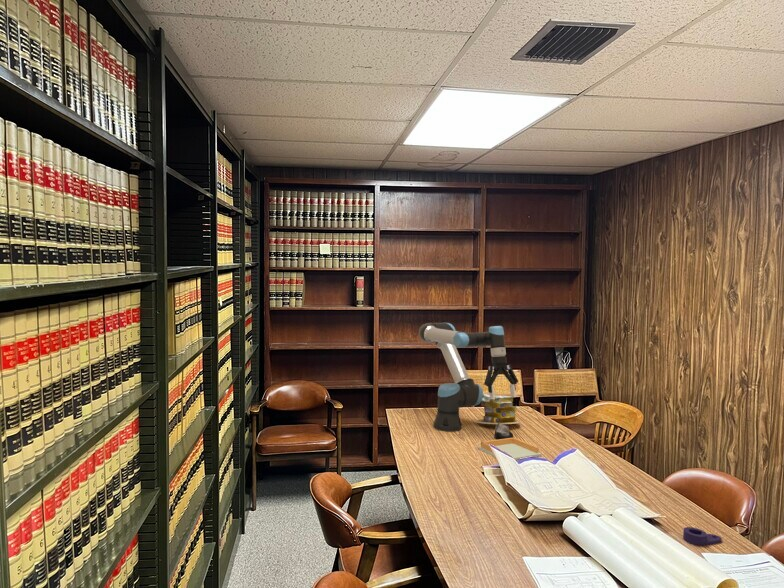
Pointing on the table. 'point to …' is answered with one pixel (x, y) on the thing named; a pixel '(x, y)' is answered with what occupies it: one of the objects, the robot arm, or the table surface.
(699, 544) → the lever
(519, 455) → the shallow square tray
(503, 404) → the stacked cans on tray
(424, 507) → the table surface
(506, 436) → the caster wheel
